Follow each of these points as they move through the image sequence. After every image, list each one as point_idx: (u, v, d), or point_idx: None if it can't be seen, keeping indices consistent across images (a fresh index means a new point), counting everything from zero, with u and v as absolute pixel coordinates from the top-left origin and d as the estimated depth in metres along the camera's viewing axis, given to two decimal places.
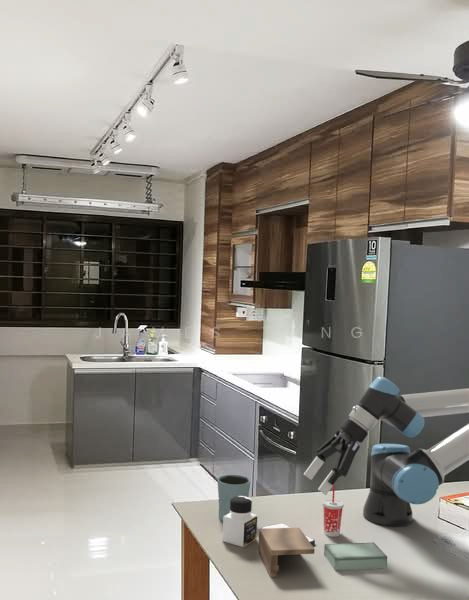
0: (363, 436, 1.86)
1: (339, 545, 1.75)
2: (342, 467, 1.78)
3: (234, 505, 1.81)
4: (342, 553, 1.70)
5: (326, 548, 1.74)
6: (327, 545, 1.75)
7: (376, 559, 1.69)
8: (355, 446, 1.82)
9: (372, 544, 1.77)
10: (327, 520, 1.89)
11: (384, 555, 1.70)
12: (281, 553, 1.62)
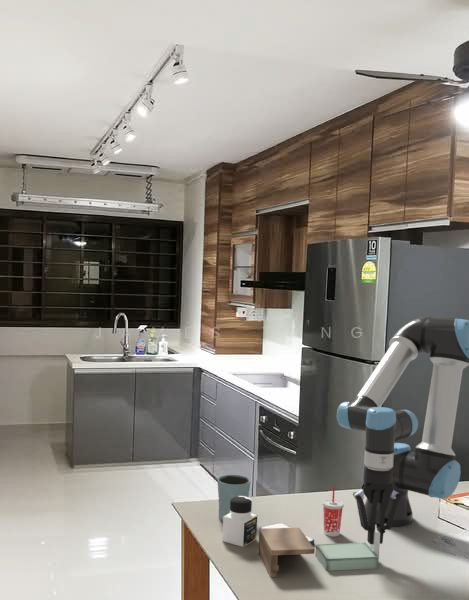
0: None
1: (331, 546, 1.75)
2: None
3: (234, 505, 1.81)
4: (333, 553, 1.70)
5: (317, 548, 1.74)
6: (318, 545, 1.74)
7: (367, 559, 1.68)
8: None
9: (363, 544, 1.76)
10: (327, 520, 1.89)
11: (375, 555, 1.70)
12: (281, 553, 1.62)
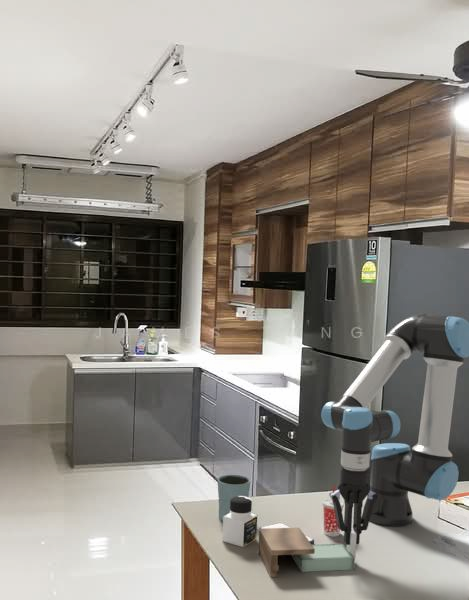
0: None
1: None
2: None
3: (234, 505, 1.81)
4: (309, 554, 1.68)
5: None
6: None
7: (343, 560, 1.67)
8: None
9: (340, 545, 1.75)
10: (327, 520, 1.89)
11: (351, 556, 1.68)
12: (281, 553, 1.62)
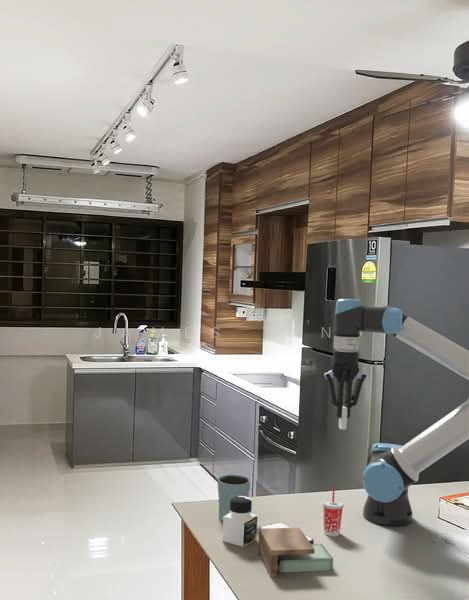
0: None
1: None
2: None
3: (234, 505, 1.81)
4: (287, 555, 1.68)
5: None
6: None
7: (321, 561, 1.66)
8: None
9: (320, 546, 1.74)
10: (327, 520, 1.89)
11: (330, 557, 1.67)
12: (281, 553, 1.62)
